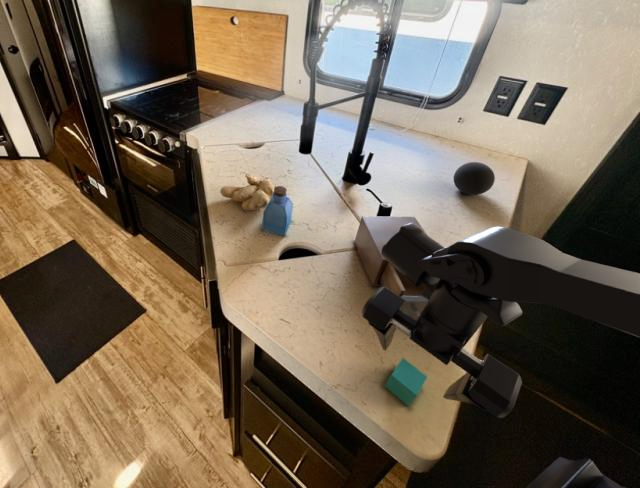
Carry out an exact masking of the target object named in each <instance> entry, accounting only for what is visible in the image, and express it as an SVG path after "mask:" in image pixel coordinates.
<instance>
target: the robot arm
mask: <svg viewBox="0 0 640 488" xmlns="http://www.w3.org/2000/svg"><path fill="white" fill-rule="evenodd" d="M426 234H427V233H426ZM426 234H425V233H424V232H423V231H422V230H421V229H420V228H419V227H418V226H416V225H415V224H414V223H409V224H406V225H404V226H401V228H400V230H399V232H398V233H396V234H395V235H394V236H393V237H392V238H391V239H390V240H389V241H388V242H387V244H385V245H384V246H383V248H382V251H381V255H382V256H383V257H384V258H385V259H386V260H387V261H388V262H389V263H390V264H391V265H393V266H394V267H395V268H396V269H397V270H398V271H399V272H400V273H401V274H402V275H404V276H405V277H406V278H407V279H408V280H409V281H410V282H411V283H412V284H413V285H415V286H416V287H418V286H419V285H421V284H423V283H424V284H425V285H426V287H425V288H424V290H423V292H422V293H421V296H423V297H424V298H426V299H428V302H427V303H426V305H425V307H424V309H423V310H422V312H421V314H420V316H419V317H418V319H417V321H416V320H414V319H413V318H411V317H410V316H408V315H407V314H405V313H404V312H403V310H402V309H400V308H401V307H403V305H404V304H405V302H406V300H405V299H403V298H401V297H400V296H398V295H397V294H395V293H394V292H392V291H391V290H389V289H388V288H386V287H382V286H379V287H378V288H377V289H376V291H375V292H374V293H373V294H372V295H371V296H370V297H369V298H368V300H367V301H366V302H365V304H364V305H363V307H362V310H361V316H362V318H363V319H365V320H366V321H367V323H368V326H370V327H371V328H372V329H373V331H374V332H375V334H376V336H377V338H378V341H379V343H380V346H381V348H382V350H383V352H386V351H387V350H388V348H389V347H390V345H391V343H392V342H393V338H394V335H395V332H396V328H397V329H398V330H400V331H401V332H403V334H405V335H407V336H408V337H409V340H411V341H412V342H413V343H415V344H416V345H417V346H419V347H421V348H422V349H423V350H425V351H426V352H427V353H429V354H430V355H431V356H433V357H434V358H436V359H437V360H438V361H440V362H441V363H442V364H444V365H446V366H448V365H449V364H450V362H451V363H453V364H455V365H456V366H457V367H459V368H460V369H462V370H463V371H464V372H465V374H463V375H462V376H461V377H459V378H458V379H457V380H456V381H454V382H453V383H451V384H450V385H449V386H448V388H447V389H446V390H445V391H444V394H443V396H442V398H444V399H445V400H450V401H455V402H456V401H457V402H460V403H464V404H467V405H471V406H475V407H477V408H478V409H480V410H481V411H483V412H487V411H488V412H489V413H490V414H491V415H493V416H494V417H496V418H502V419H504V418H505V417H506V416H508V415H509V414H510V413H511V412H512V410H513V409H514V407H515V404H516V402H517V398H518V396H519V393H520V390H521V387H522V384H523V380H522V377H521V375H520V374H519V373H518V372H517V371H515V370H513V369H512V368H510V367H509V366H507V365H506V364H504V363H502V362H501V361H500V360H499V359H497V358H495V357H494V356H492V355H491V354H489V353H486V354H485V356H484V357H483V358H482V360H481V359H479V358H478V357H477V356H475V355H474V354H472V353H471V352H469V351H468V350H466V349H465V346H466V345H467V343H468V342H470V340H471V339H472V337H474V335H475V334H476V332H477V331H478V330H479V329H480V327H481V326H482V325H483V324H484V323H485V321H487V319H488V318H489V319H490V320H491V321H492V322H493V323H494V324H496V325H497V326H499V327H504V326H506V325H508V324H509V323H511V322H512V321H514V320H516V319H517V318H519V317H520V316H522V315H523V310H522V309H521V307H520V305H519V303H524V304H539V305H544V306H549V307H553V308H557V309H559V310H562V311H566V312H568V313H571V314H573V315H576V316H579V317H582V318H585V319H586V320H590V321H593V322H596V323H598V324H601V325H603V326H606V327H609V328H613V329H616V330H618V331H620V332H622V333H623V332H624V333H625V334H629V335H632V336H635V337H636V338H640V273H639V272H636V271H631V270H628V269H627V270H626V269H623V268H618V267H615V266H610V265H605V264H601V263H598V262H594V261H589V260H585V259H581V258H579V257H576V256H573V255H570V254H567V253H564V252H563V251H561V250H559V249H558V248H556V247H554V246H553V245H551V244H550V243H548V241H547V242H546V241H545V240H544V239H542V238H538V237H536V236H533V235H529V234H527V233H524V232H521V231H518V230H515V229H514V228H513V229H512V228H509V227H506V226H490V227H489V228H485V229H483V230H480V231H479V232H476V233H474V234H472V235H470V236H467V237H465V238H463V239H459V240H458V241H456V242H455V243H453V244H450V245H448V246H445V247H444V246H443V245H442V244H440V243H439V242H437V241H436V240H434V239H433V238H432V237H431V236H430V235H428V234H427V235H426ZM525 488H627V487H625V486H621V485H620V484H618V483H617V482H615V481H614V480H612V479H611V478H609V477H608V476H606V475H604V474H603V473H602V472H601V471H600V470H599V468H598V467H597V466H596V464H595V463H594V461H593V460H592V459H591V458H588V457H587V458H583V459H579V460H578V459H577V460H574V459H567V458H566V457H565V458H564V457H562V456H558V457H557V458H556V459H554V460H553V462H551V463H550V464H549V465H548V466H547V467H546V468H545V469H544V470H543V471H542V472H541V473H540V474H539V475H538V476H537V477H536V478H535V479H533V480H532V481H531V482H530V483H529V484H528V485H527V486H526V487H525Z"/></svg>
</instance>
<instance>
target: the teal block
mask: <svg viewBox="0 0 640 488" xmlns="http://www.w3.org/2000/svg"><path fill="white" fill-rule="evenodd" d="M427 380H428V376H427V375H426V374H424V373H423V372H422V371H420V370H419V368H416V367H415V366H414V365H413V364H412V363H410V362H409V361H408V360H406V359H405V358H404V357H402V358H401V360H400V361H399V362H398V364H397V366H396V367H395V369H394V370H393V371H392V373H391V374H390V376H389V378H388V379H387V381H386V383H385V385H384V387H385V388H386V389H388V391H390V392H391V393H392V394H393V395H395V397H396V398H398V399H399V400H401V402H402V403H404V405H406V406H407V407H410V406H411V404H412V403H413V402H414V400H415V399H416V398H417V396H418V395H419V393H420V391H421V389H422V388H423V387H424V385H425V382H426V381H427Z"/></svg>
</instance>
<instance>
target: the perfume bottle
mask: <svg viewBox="0 0 640 488" xmlns="http://www.w3.org/2000/svg"><path fill="white" fill-rule="evenodd" d="M287 195H288V193H287V188H286V187H285V186H282V185H277V186H276V187H275V188H274V192H273V196H272V198H270V200H269V203H268V205H267V206H266V207H264V210H263V216H262V231H265V232H268V233H273V234H277V235H280V236H283V237H285V236H286V234H287V232H288V230H289V227H290V225H291V222H292V216H293V209H294V203H293V201H292V200H291V197H288V196H287Z"/></svg>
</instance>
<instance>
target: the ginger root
mask: <svg viewBox="0 0 640 488" xmlns="http://www.w3.org/2000/svg"><path fill="white" fill-rule="evenodd" d="M245 178H246V180H247V181H246V182H247V184H248V185H245V186H241V187H240V186H236V185H225V186H222V187H221V188H220V190H219V191H220V194H221V196H222V197H224V198H226V199H233V200H234V201H235V202H241V203H242V204H241V208H242V209H243V210H245V211H256V210H258V209H265V208H266V207H267V205H268V203H269V201H270V199H271V198H272V196H273V192H274V188H275V187H277V186H276V185H273V183H272V182H271V180H270V179H269V178H265V179H264V178H263V179H260V178H258V177H256V176H251V174H250V173H249V174H248V173H246V174H245Z"/></svg>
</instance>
